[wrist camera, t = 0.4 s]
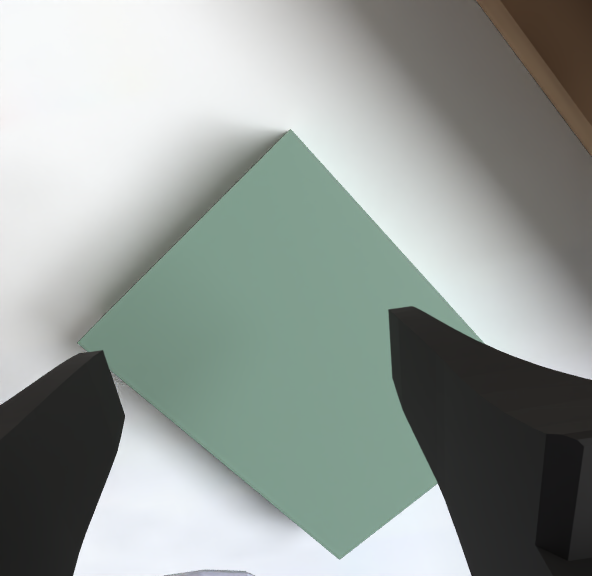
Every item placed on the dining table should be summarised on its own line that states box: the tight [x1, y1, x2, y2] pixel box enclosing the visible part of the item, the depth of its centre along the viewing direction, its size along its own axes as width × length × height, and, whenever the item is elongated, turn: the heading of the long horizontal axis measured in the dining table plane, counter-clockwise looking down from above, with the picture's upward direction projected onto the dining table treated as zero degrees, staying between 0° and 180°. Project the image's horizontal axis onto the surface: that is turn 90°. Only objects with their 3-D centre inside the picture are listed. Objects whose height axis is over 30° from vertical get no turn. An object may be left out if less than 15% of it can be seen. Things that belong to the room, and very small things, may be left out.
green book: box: [78, 129, 483, 560], centre depth 22 cm, size 12×16×4 cm
